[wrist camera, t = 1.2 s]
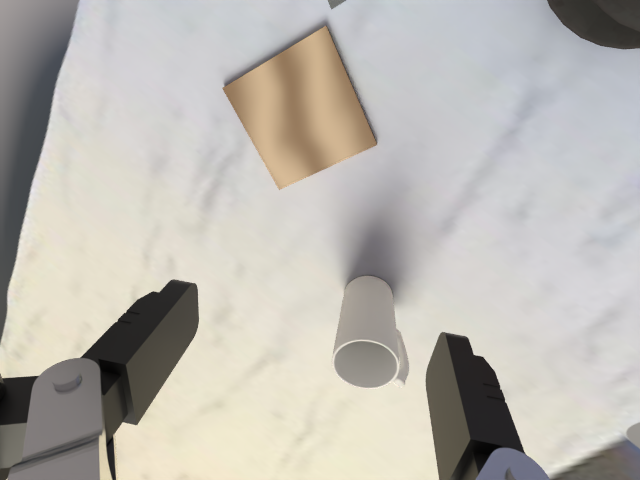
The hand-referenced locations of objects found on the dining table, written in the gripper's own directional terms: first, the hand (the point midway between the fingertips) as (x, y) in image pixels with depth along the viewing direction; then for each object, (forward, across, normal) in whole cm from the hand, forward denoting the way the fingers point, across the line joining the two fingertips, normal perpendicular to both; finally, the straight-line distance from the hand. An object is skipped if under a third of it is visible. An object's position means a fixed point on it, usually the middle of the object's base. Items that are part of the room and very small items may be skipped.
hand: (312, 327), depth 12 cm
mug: (+30, -6, +20) cm, 37 cm away
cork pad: (+30, +6, -2) cm, 30 cm away
